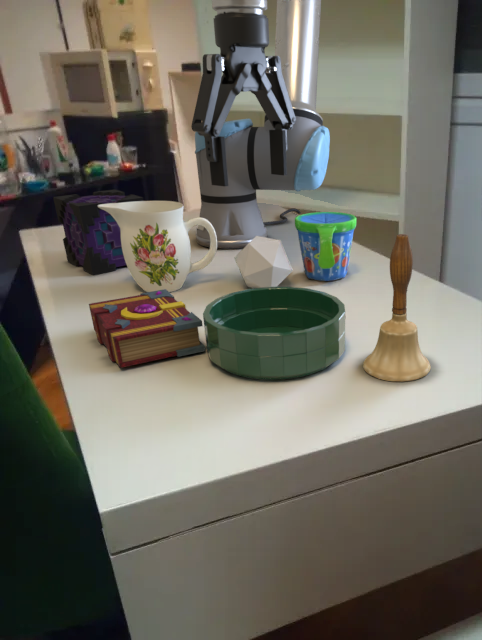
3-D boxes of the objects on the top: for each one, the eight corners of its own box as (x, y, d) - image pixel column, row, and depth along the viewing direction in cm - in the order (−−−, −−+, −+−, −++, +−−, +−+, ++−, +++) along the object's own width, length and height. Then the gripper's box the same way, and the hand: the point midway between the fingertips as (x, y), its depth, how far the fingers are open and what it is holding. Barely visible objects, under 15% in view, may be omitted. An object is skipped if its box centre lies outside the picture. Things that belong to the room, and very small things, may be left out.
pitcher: (224, 292, 99) (216, 205, 92) (112, 301, 95) (94, 212, 88) (218, 273, 108) (210, 193, 101) (115, 281, 104) (99, 199, 97)
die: (302, 290, 101) (288, 235, 102) (284, 278, 93) (269, 217, 94) (258, 305, 104) (244, 251, 105) (236, 295, 95) (221, 236, 96)
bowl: (268, 319, 88) (266, 279, 85) (369, 345, 79) (371, 302, 76) (179, 359, 76) (173, 315, 73) (288, 396, 67) (285, 347, 64)
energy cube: (125, 251, 122) (114, 189, 116) (153, 262, 114) (142, 197, 108) (67, 262, 115) (53, 197, 109) (92, 275, 108) (78, 206, 101)
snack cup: (302, 263, 113) (301, 207, 108) (357, 264, 112) (358, 208, 107) (290, 289, 100) (287, 227, 94) (352, 290, 99) (353, 227, 93)
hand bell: (383, 387, 69) (390, 247, 60) (351, 360, 75) (354, 230, 67) (443, 374, 71) (458, 239, 63) (408, 349, 78) (417, 223, 70)
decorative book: (119, 372, 72) (111, 334, 70) (90, 330, 85) (83, 296, 82) (206, 353, 77) (202, 316, 75) (168, 315, 89) (163, 283, 87)
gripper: (192, 4, 71) (210, 193, 81) (316, 17, 88) (318, 172, 99) (150, 8, 74) (173, 188, 85) (277, 20, 92) (283, 169, 102)
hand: (251, 180), depth 92 cm, fingers open, 13 cm apart
